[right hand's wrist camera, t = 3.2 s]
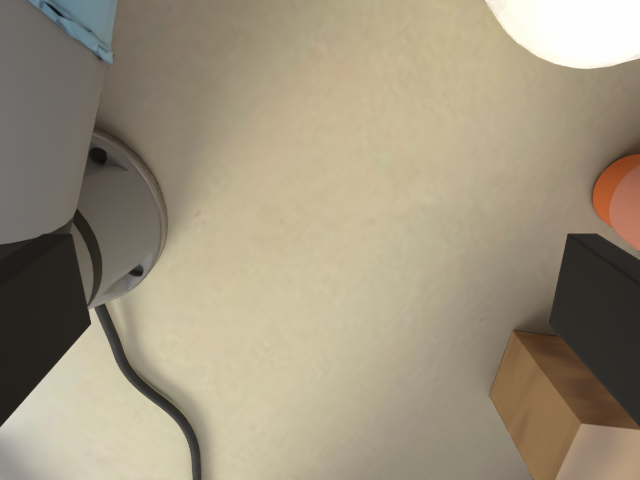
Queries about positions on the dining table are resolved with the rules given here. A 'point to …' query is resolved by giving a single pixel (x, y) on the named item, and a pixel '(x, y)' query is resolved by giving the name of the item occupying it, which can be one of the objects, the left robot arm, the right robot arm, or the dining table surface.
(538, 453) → the wooden block
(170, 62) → the dining table surface
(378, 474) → the dining table surface
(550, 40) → the skull
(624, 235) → the cup with straw
